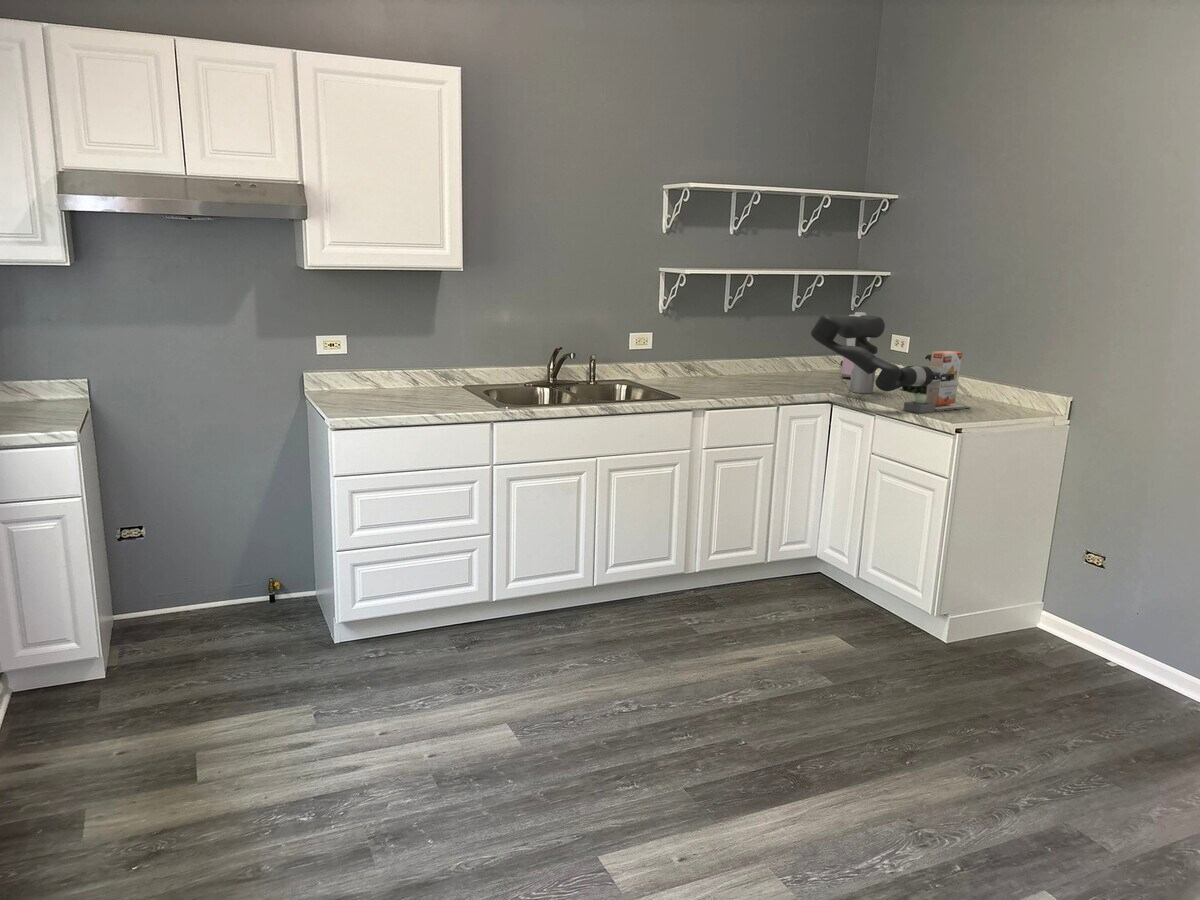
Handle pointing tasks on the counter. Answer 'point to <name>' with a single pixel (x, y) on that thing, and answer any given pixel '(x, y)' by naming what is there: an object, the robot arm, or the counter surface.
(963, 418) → the counter surface
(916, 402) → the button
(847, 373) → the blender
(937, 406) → the mat
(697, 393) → the counter surface
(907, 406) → the grey square holder
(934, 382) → the cracker box
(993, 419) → the counter surface
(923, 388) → the toy figurine
